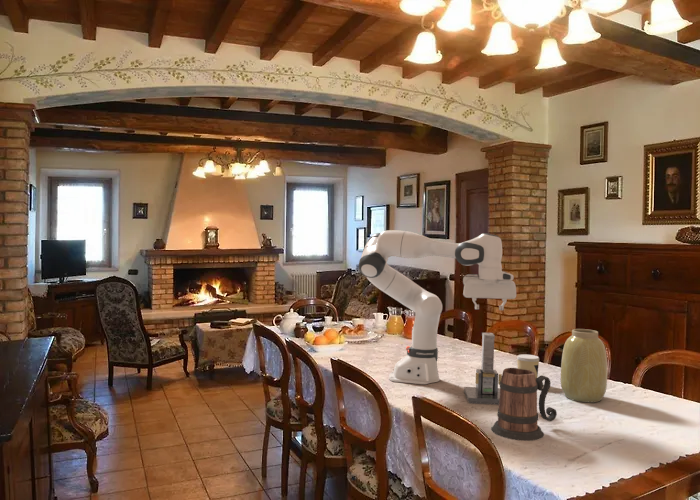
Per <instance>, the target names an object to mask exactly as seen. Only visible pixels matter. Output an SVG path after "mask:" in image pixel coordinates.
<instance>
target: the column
mask: <svg viewBox="0 0 700 500" xmlns="http://www.w3.org/2000/svg"><path fill="white" fill-rule="evenodd" d="M481 336H482V339H481V343H482V344H481V345H482V346H481V369H482V371H481V373H482V375H481V392H482V393H483V394H493V377H483V373H489V374H493V370H494V365H495V362H494V361H495V360H494V359H495V358H494V357H495V339H496V336H495V334H494V333H493V332H481Z"/></svg>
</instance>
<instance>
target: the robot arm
mask: <svg viewBox="0 0 700 500" xmlns="http://www.w3.org/2000/svg"><path fill="white" fill-rule="evenodd" d="M433 256H434V257H444V258H451V259H456V261H457V262H458V264H461V265H462V266H474V265H478V274H477V273H476V274H470V273H468V274H466V275H464V276H463V278H462V284H463V293H462V295H463V297H464V298H468V299H470V298H471V299H472V302H473V304H474V310H480V304H477V302H476V301H477V299H496V300H497V299H501V301H502V303H501V304H500V305H498V310H499V311H504V307H505V305H506V303H507V300H514V299H516V297H517V287H516V283H515V281H513V280H514V276H515V275H513V274H512V273H509V272H507V271H503V270H502V269H503V267H502V258H503V242H502V239H501V237H500V236H499V235H496V234H492V233H487V232H485V233H484V232H483V233H481V234H480V235H478V236H476V237H474V238H472V239H469V240H466V241H463V242H458V243H457V242H449V241H441V240H436V239H433V238H430V237H427V236H425V235H422V234H419V233H416V232H413V231H407V230H400V229H394V230H392V229H389V230H383V231H382V232H377V233H374V234H372V235H371V236H370V237H369V238H368V240H367V242H366V244H365V246H364V248H363V250H362V254H361V256H360V259H359V260H358V261H359V262H358V270H359V272H360V273H361V274H362V275H363V276H364V277H366V279H367V280H368V281H369V282H370V283H371V285H373V286H375V287H376V288H377V289H379V290H380V291H381V292H383V293H384V294H386V295H388V296H389V297H391V298H392V299H394V300H395V301H397V302H398V303H400V304H401V305H403V306H404V307H406V308H408V309H410V310H411V311H413V312H414V314H415V316H414V322H413V327H412V330H411V346H410V345H407V346H406V347H405V350H406V355H405V356H403V357H402V358H401V359H400V360H398V361H397V362H396V363H395V365H394V368H393V371H392V372H390V373H389V374H388V380H390V381H391V382H396V383H406V384H415V385H428V384H432V383H437V382H440V380H441V379H440V375H439V369H438V368H439V367H438V360H439V359H438V358H439V351H438V350H439V349H438V347H437V346H438V327H439V323H440V317H441V314H442V311H443V303H442V300H441V299H440V298H439V296H437V295H436V294H434V293H432V292H430V291H427V290H426V289H425V288H423V287H421V286H420V285H419V284H417V283H416V282H414V281H413V280H412V279H410V278H409V277H407V276H406V275H404V274H403V273H402V272H400V271H398V270H397V269H395V268H393V267H392V266H390V265H389V264H388V260H389V258H390V257H396V258H397V257H398V258H403V259H421V258H426V257H433Z"/></svg>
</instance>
